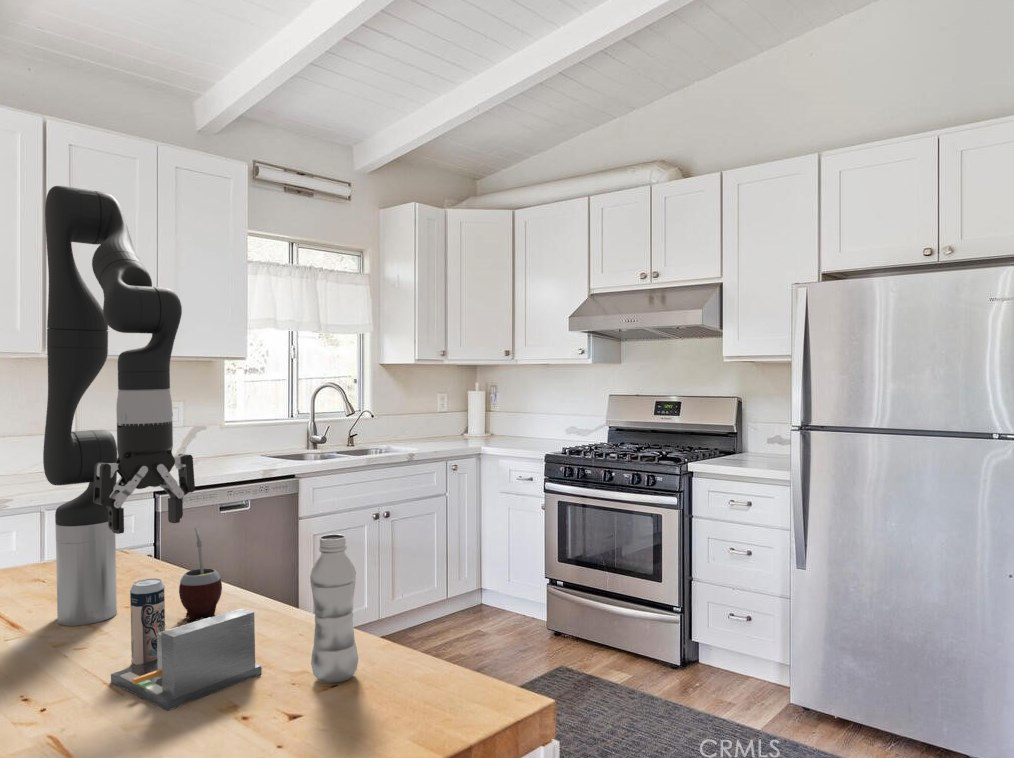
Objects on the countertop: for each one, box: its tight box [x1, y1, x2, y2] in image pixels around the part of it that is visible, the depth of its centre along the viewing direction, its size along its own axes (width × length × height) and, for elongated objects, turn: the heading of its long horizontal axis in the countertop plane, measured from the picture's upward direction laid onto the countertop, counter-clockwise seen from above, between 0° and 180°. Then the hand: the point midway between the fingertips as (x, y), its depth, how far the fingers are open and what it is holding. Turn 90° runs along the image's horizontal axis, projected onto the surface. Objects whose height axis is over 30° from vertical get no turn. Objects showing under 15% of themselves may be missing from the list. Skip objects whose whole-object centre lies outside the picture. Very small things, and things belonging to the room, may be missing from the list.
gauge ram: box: [133, 617, 211, 684], centre depth 104 cm, size 2×12×6 cm, turn 143°
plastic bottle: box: [309, 533, 359, 684], centre depth 105 cm, size 6×7×20 cm
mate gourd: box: [178, 526, 223, 624], centre depth 133 cm, size 8×8×15 cm
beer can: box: [129, 578, 166, 666], centre depth 112 cm, size 5×5×12 cm
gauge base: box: [110, 607, 263, 712], centre depth 106 cm, size 15×14×9 cm
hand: (146, 527), depth 112 cm, fingers open, 8 cm apart
